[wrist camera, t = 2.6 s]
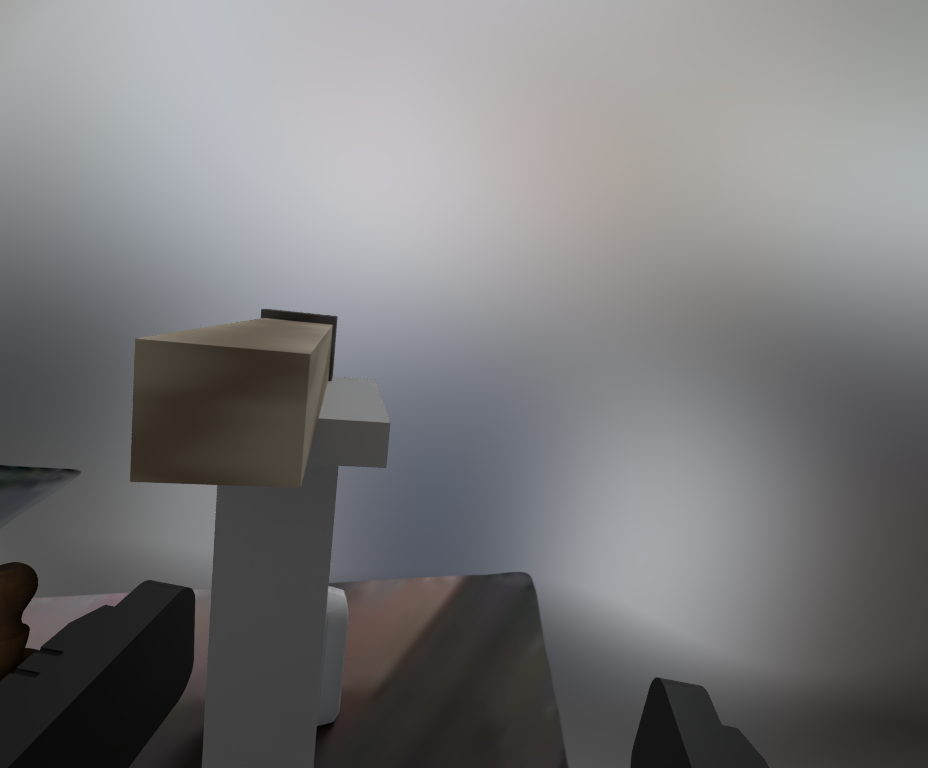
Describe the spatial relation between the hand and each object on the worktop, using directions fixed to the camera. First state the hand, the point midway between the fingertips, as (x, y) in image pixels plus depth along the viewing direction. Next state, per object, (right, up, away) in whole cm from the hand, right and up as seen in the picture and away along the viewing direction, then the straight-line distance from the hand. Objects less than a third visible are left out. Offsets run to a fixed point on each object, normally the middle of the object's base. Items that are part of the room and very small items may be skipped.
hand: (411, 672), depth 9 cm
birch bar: (-8, +4, +15) cm, 18 cm away
